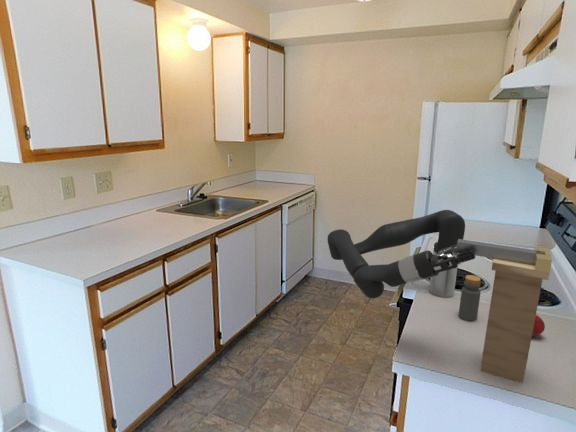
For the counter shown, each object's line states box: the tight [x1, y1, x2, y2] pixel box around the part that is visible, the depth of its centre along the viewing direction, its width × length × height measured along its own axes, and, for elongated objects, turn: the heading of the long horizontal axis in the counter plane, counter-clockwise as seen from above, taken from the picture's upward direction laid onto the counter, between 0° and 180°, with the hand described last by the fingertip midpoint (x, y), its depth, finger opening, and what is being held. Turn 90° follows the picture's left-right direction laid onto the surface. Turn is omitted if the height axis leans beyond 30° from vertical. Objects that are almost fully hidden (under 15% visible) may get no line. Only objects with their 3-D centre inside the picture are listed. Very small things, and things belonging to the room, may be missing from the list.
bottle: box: [458, 274, 482, 322], centre depth 129 cm, size 6×6×15 cm
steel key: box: [456, 238, 553, 272], centre depth 98 cm, size 10×21×3 cm, turn 60°
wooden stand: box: [480, 258, 551, 384], centre depth 100 cm, size 10×12×32 cm
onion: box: [532, 313, 546, 337], centre depth 119 cm, size 6×6×8 cm
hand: (475, 249), depth 101 cm, fingers open, 8 cm apart
